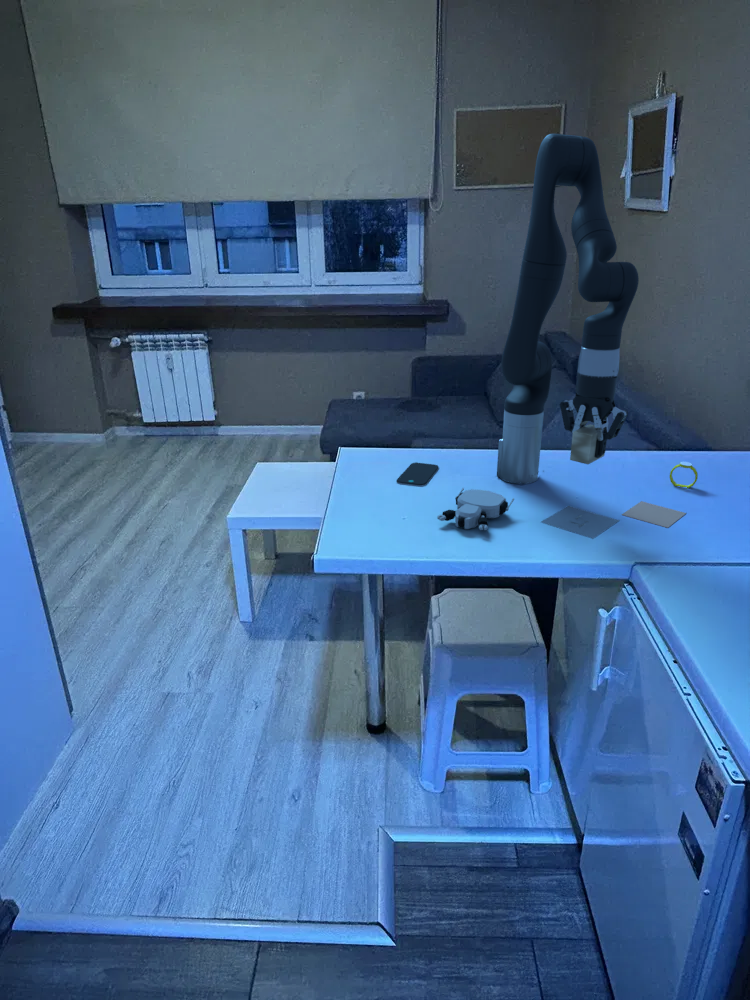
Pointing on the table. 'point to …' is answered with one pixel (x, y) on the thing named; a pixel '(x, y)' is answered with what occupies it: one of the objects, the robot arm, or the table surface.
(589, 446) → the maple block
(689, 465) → the watch
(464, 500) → the robot toy
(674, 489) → the table surface
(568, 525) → the board
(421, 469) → the smartphone
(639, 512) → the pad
